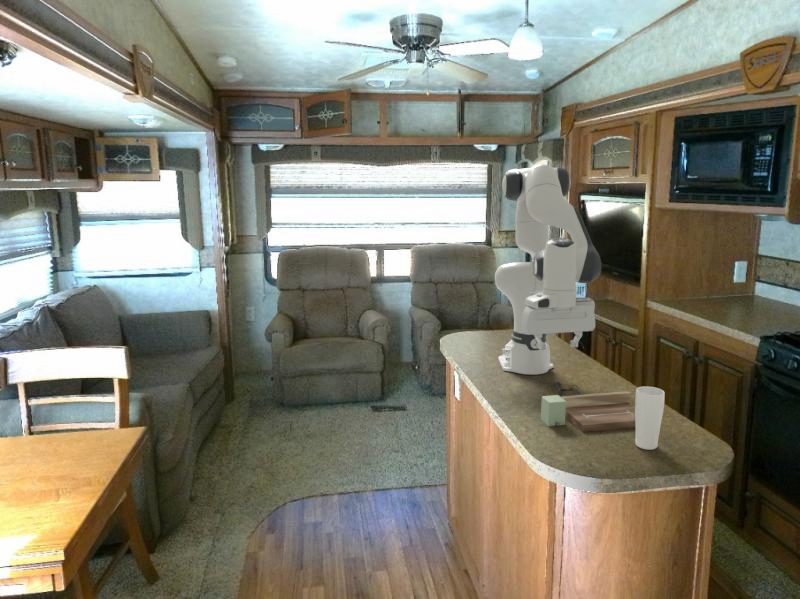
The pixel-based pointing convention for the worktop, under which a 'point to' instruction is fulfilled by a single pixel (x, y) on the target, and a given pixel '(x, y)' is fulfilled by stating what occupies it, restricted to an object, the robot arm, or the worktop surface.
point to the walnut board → (600, 411)
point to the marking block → (553, 410)
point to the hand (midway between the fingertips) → (558, 348)
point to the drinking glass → (648, 416)
